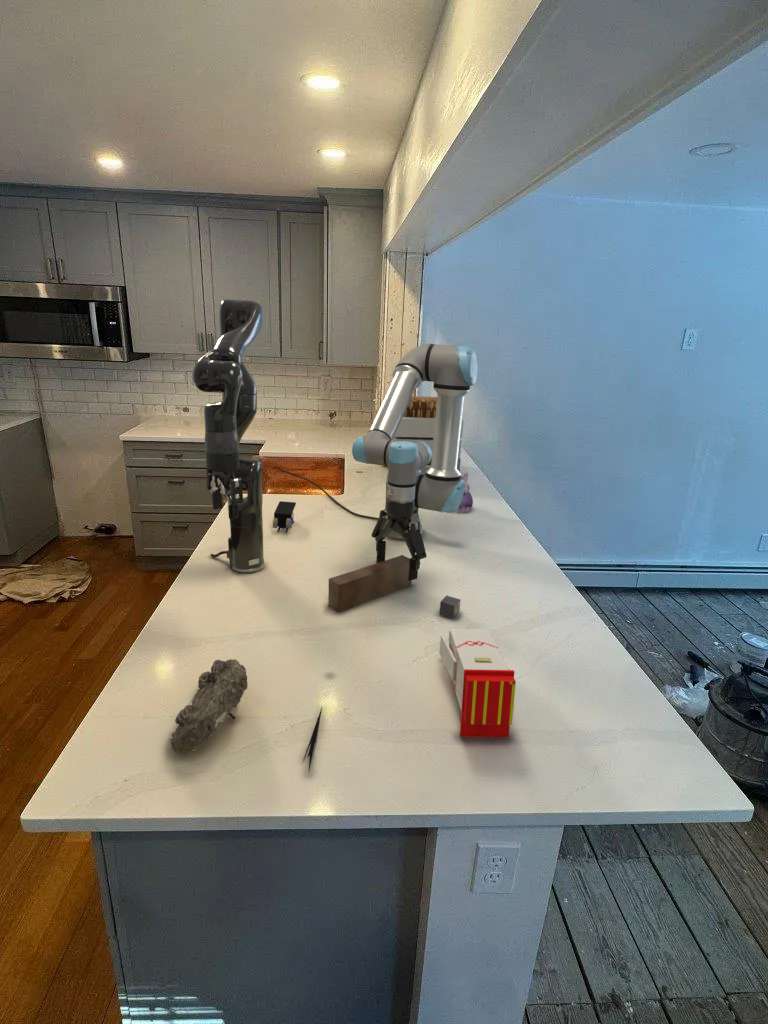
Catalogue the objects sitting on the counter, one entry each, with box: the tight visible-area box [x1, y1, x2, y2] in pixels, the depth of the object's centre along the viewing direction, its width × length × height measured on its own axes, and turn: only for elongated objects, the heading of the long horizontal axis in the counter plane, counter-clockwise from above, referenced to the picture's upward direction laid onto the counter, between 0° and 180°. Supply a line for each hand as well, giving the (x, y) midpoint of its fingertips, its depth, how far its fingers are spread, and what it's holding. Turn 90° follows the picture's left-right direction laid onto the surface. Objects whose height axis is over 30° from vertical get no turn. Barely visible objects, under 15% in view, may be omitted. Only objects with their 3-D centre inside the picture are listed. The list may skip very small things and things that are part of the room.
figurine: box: [454, 472, 474, 514], centre depth 225 cm, size 9×10×15 cm
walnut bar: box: [327, 554, 413, 613], centre depth 155 cm, size 26×4×8 cm, turn 131°
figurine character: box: [272, 500, 297, 533], centre depth 200 cm, size 7×8×15 cm
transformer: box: [384, 395, 464, 473], centre depth 268 cm, size 34×33×41 cm
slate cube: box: [439, 595, 461, 620], centre depth 148 cm, size 4×4×4 cm
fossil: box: [170, 658, 249, 753], centre depth 106 cm, size 22×10×15 cm
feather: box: [301, 673, 332, 771], centre depth 108 cm, size 2×28×2 cm
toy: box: [438, 628, 517, 738], centre depth 117 cm, size 12×13×30 cm
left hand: (225, 513), depth 138 cm, fingers open, 8 cm apart
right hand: (396, 570), depth 160 cm, fingers open, 13 cm apart
